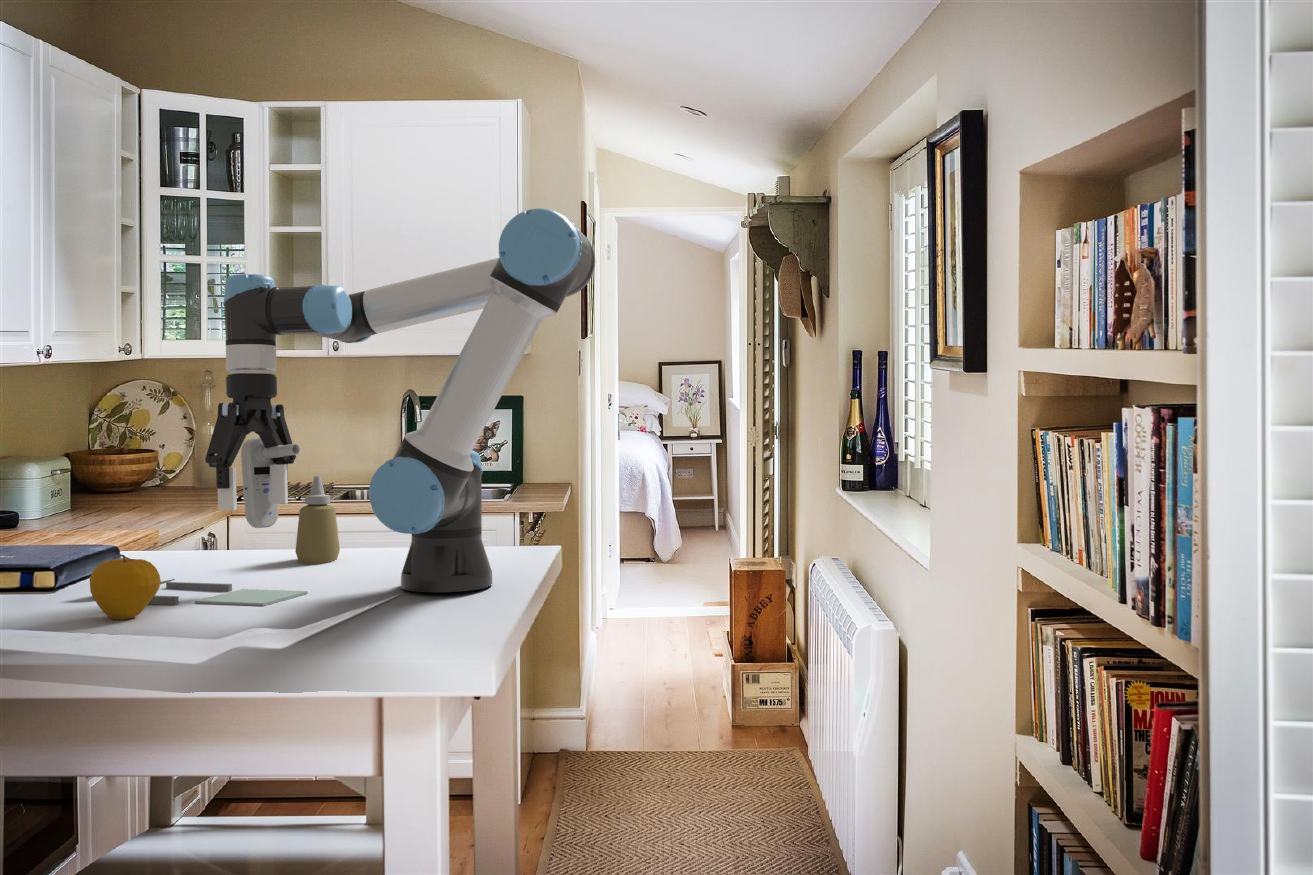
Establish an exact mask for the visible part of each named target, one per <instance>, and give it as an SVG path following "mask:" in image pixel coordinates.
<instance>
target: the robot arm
mask: <svg viewBox="0 0 1313 875" xmlns="http://www.w3.org/2000/svg"><path fill="white" fill-rule="evenodd" d="M498 256H499V257H496V258H492V259H488V260H485V261H479V262H476V263H472V264H469V265H464V266H459V267H456V268H451V269H448V270H443V271H439V272H436V273H432V274H431V273H430V274H428V275H423V276H419V277H416V278H409V279H408V280H403V281H399V282H395V283H391V284H387V285H386V284H385V285H382V286H379V287H378V286H377V287H373V288H370V289H366V290H364V291H358V292H355V293H351V294H348V293H347V291H346V289H345V288H344V287H341V286H339V285H325V284H316V285H307V286H306V285H305V286H288V287H286V286H285V287H277V286H276V284H275V280H274V279H273V278H272V276H269V275H265V274H264V275H263V274H258V273H257V274H256V273H255V274H253V273H250V274H249V273H239V274H233V275H230V276H229V277H227V278H226V280H225V282H224V296H223V297H224V299H223V308H224V328H225V340H224V341H225V369H226V371H228V372H229V373H230V374H227V376H226V377H225V389H226V394H225V395H226V397H227V398H229V399H232V402H219V403H218V404H217V405H218V406H217V418H216V421H215V425H214V428H213V432H212V435H211V438H210V441H209V445H208V448H207V451H206V455H205V457H204V458H205V462H206V464H208V466H209V467H210V468H215V471H216V472H215V476H216V481H215V482H216V488H217V510H218V511H237V510H238V507H237V506H238V505H237V504H238V501H237V497H238V496H237V495H238V494H237V468H236V466H235V467H234V466H233V463H234V461H235V459H236V457H238V454H239V452H240V450H241V448H242V446H243V444H244V442H245V439H246V437H247V435H249V434H251V433H255V434H256V435H258V437H260V438H261V440H262V442H263V444H264V446H265V448H270V447H274V446H278V445H290V444H293V441H292V438H291V435H290V430H289V427H288V425H287V421H286V418H285V408H284V404H280V403H279V404H272V402H271V401H272V400H271V399H273V398H276V397H277V396H278V377H277V376H276V374H274V372H276V371H277V370H278V364H277V363H278V362H277V361H278V360H277V343H276V342H277V336H285V335H291V336H292V335H312V336H314V337H315V336H316V337H317V336H318V337H321V338H325V339H332V340H336V341H339V342H340V343H341V342H342V343H345V344H354V343H355V344H356V343H362V342H365V341H367V340H368V339H369V338H371V337H372V336H375V335H377V334H382V333H385V332H390V331H394V330H397V329H398V330H399V329H402V328H406V327H410V326H416V325H418V324H420V325H421V324H424V323H427V322H428V323H429V322H433V321H437V320H441V319H445V318H449V317H454V316H458V315H463V314H466V313H469V312H470V313H471V312H474V311H480V310H482V311H481V313H480V315H479V317H478V318H477V321H476V323H475V324H474V327H473V328H472V330H471V332H470V334H469V336H468V337H467V340H466V341H465V344H464V345H463V347H462V349H461V351H460V353H459V355H458V357H457V358H456V360H455V362H454V364H453V366H452V368H451V369H450V372H449V373H448V376H447V377H446V379H445V381H444V383H443V385H442V387H441V388H440V390H439V392H438V394H437V396H436V397H435V400H434V402H433V403H432V406H431V407H430V409H429V412H428V413H427V415H426V417H425V418H424V421H423V423H422V424H421V426H420V428H419V429H416V430H414V431H410V432H406V433H405V435H404V437H403V439H402V441H401V443H400V445H399V446H398V449H397V450H396V452H395V453H394V456H393V458H390V459H388V460H386V461H385V462H384V463H383V464H381V465H380V466H379V467H378V468H377V469H376V470H375V472H374V473H373V476H372V477H371V479H370V483H369V489H368V499H369V502H370V505H371V508H372V511H373V514H374V516H376V518H377V519H378V521H379V522H380V523H381V524H382V525H384V526H385V527H386V528H388V529H389V530H391V531H393V532H396V533H400V534H409V535H410V534H411V539H410V545H409V548H408V552H407V554H406V558H405V561H404V564H403V567H402V571H401V574H400V588H401V589H402V590H405V591H409V592H417V593H422V592H423V593H454V592H455V593H456V592H468V591H476V590H481V589H486V588H489V587H492V585H493V570H492V567H491V563H490V561H489V559H488V556H487V552H486V549H485V546H484V543H483V538H482V536H483V535H482V530H483V529H482V527H483V525H482V522H483V521H482V520H483V519H482V514H483V513H482V499H483V498H482V475H483V468H482V461H481V460H482V459H481V456H480V454H479V453H478V452H477V451H475V450H474V448H475V446H476V444H477V443H478V440H479V438H480V437H481V434H482V433H483V431H484V429H485V427H486V425H487V423H488V422H489V420H490V418H491V416H492V414H493V413H494V410H495V409H496V407H497V405H498V403H499V401H500V400H501V398H502V396H503V394H504V392H505V389H506V388H507V386H508V385H509V383H510V381H511V379H512V377H513V375H514V373H515V371H516V369H517V367H519V363H520V361H521V360H522V358H523V356H524V354H525V353H526V351H527V349H528V348H529V346H530V343H531V342H532V340H533V337H534V336H535V334H536V332H537V330H538V328H539V326H540V325H541V323H542V321H543V320H544V319H546V318H549V317H552V316H555V315H556V316H557V313H558V311H559V310H560V308H561V307H562V304H563V303H564V301H565V299H566V298H567V297H571V296H573V295H575V294H577V293H579V292H580V291H581V290H583V289H584V288H585V287H586V286H587V284H589V282H590V280H591V279H592V277H593V274H594V271H595V267H596V265H595V264H596V255H595V251H594V248H593V245H592V243H591V242H590V240H589V238H588V237H587V236H586V235H585V233H583V232H582V231H581V230H580V229H579V228H578V227H577V225H576V224H575V223H574V222H573V221H572V220H571V219H569V218H567V217H566V216H565V215H564V214H561V213H559V212H557V211H555V210H553V209H550V208H549V209H548V208H541V207H537V208H530V209H526V210H524V211H521V212H520V213H518V214H516V215H515V216H514V217H512V218H511V219H510V220H509V221H508V222H507V223H506V225H505V226H504V228H502V231H501V234H500V236H499V240H498ZM296 458H297V455H290V456H283V457H278V458H271V459H272V461H273V463H274V464H275V465H270V492H271V504H278V505H287V504H289V489H288V488H289V487H288V482H289V478H288V476H289V475H288V473H289V471H288V470H289V469H288V466H289V465H293V464H294V463H295V460H296ZM491 584H492V585H491ZM488 586H489V587H488Z"/></svg>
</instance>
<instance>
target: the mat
mask: <svg viewBox="0 0 1313 875" xmlns="http://www.w3.org/2000/svg"><path fill="white" fill-rule="evenodd" d="M308 593H309V591H308V590H281V589H280V590H279V589H255V588H252V589H251V588H250V589H249V588H246V589H245V588H242V589H237V590H232V591H230V592H225V593H221V594H216V595H212V596H208V597H205V598H201V599H196V600H194V604H199V605H202V604H204V605H227V606H228V605H230V606H232V605H233V606H255V607H256V606H257V607H258V606H259V607H265V606H268V605H272V604H275V603H276V604H277V603H279V602H282V601H285V600H289V599H293V598H298V597H301V596H304V595H308Z"/></svg>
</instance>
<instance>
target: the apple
mask: <svg viewBox="0 0 1313 875" xmlns="http://www.w3.org/2000/svg"><path fill="white" fill-rule="evenodd" d="M90 574H91V575H90V577H89V592H90V594H91V595H92V599H93V598H94V599H93V600H94V602H95V603H96V605H97V607H99V608H100V609H101V611H102V612H103V614H105V615H106V616H107V617H108V618H109V619H112V620H119V621H120V620H123V621H124V620H130V619H133V618H135V617H137V616H138V615H140V614H141V613H142V612H143V611H144V610H145V609H146V608H147V606H148V605H149V604H148V603H149V602H150V601H151V600H152V598H153V597H154V596H155V595H156V596H157V593H158V591H159V589H160V586H161V584H160V583H161V582H162V581H161V575H160V574H159V571H158V568H156V567H155V565H154V564H153V563H152V562H150V561H148V560H146V559H142V558H141V559H140V558H139V559H138V558H137V559H136V558H126V556H125V555H122V558H116V559H115V558H114V559H109V560H103V561H102V562H101V563H99V564H98V565H97V566H96V567H95V568H94V569H93V571H92V572H91V573H90Z"/></svg>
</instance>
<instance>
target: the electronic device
mask: <svg viewBox="0 0 1313 875" xmlns="http://www.w3.org/2000/svg"><path fill="white" fill-rule="evenodd" d="M300 451H301V450H300V446H299V445H298V444H297V443H292V444H290V445H278V446H274V447H270V448H265V446H264V444H263V442H262V440H261V438H260V436H257V437H250V438H248V439H246V440H244V442H243V443H242V445H241V447H240V459H241V473H242V487H243V489H242V490H243V500H244V501H243V502H244V516H245V519H246V521H247V523H248V525H250V527H252V528H255V529H265V528H270V527H272V526H274V525H275V524H276V522H277V520H278V517H279V513H280V512H279V511H280V510H279V504H271V492H270V465H276V464H274V463H273V461H272V459H271V458H278V457H283V456H290V455H296V456H297V455H298V454H300Z"/></svg>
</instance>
